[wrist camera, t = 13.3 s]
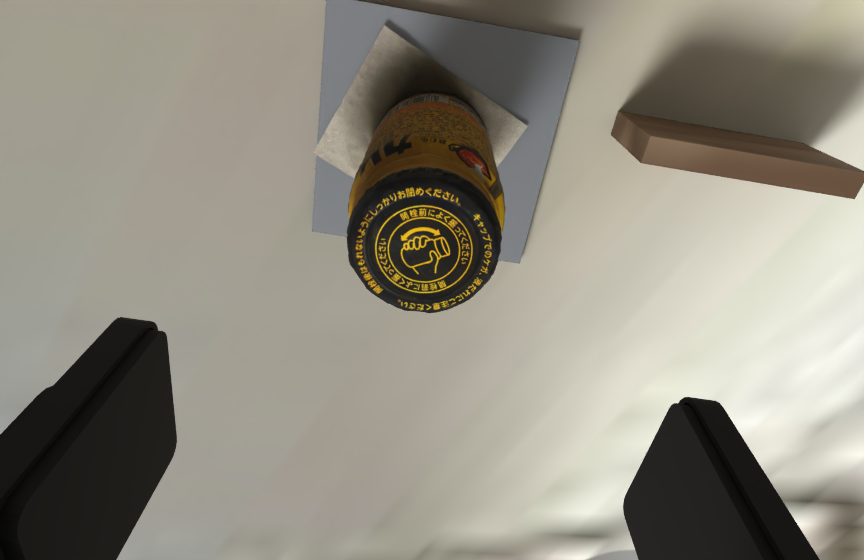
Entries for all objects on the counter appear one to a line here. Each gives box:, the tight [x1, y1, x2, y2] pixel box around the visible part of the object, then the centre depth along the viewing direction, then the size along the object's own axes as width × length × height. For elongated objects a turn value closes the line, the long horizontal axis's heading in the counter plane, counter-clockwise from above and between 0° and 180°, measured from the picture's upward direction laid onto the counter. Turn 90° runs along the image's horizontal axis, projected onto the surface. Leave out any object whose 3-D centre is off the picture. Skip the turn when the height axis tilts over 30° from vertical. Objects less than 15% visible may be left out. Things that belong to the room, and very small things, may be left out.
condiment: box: [313, 25, 528, 313], centre depth 23 cm, size 7×8×12 cm
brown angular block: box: [611, 111, 864, 199], centre depth 23 cm, size 13×10×5 cm
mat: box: [312, 0, 580, 264], centre depth 29 cm, size 12×12×1 cm
